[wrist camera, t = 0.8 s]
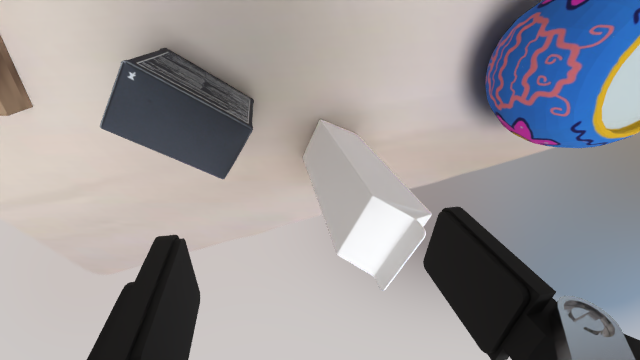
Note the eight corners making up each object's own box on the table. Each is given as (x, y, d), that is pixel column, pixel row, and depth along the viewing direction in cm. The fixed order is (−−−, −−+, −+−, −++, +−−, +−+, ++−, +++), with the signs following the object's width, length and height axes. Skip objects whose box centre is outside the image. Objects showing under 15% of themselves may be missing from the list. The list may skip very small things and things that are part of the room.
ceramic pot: (539, 123, 43) (658, 164, 30) (443, 122, 39) (533, 168, 26) (603, -7, 35) (805, -27, 22) (488, -25, 31) (653, -62, 18)
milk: (302, 157, 37) (345, 288, 19) (319, 117, 35) (389, 222, 16) (339, 169, 40) (411, 298, 21) (358, 133, 37) (458, 241, 19)
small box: (142, 99, 30) (93, 130, 21) (163, 45, 28) (119, 53, 19) (231, 143, 34) (222, 183, 25) (255, 99, 32) (255, 127, 23)
